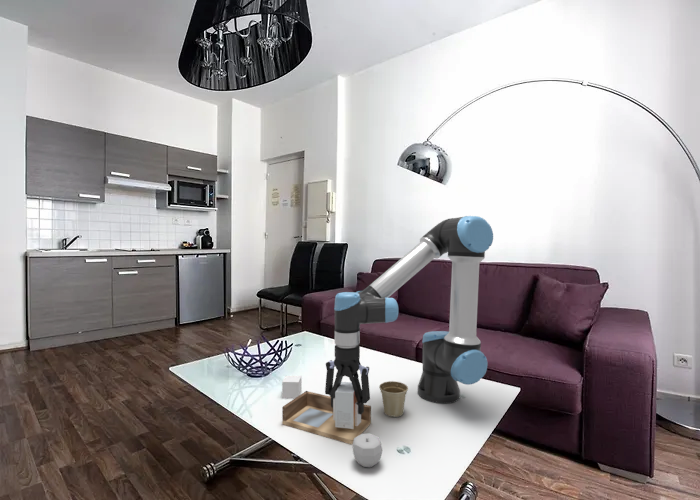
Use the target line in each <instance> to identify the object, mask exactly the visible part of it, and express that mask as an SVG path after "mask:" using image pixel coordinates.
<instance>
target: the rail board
mask: <svg viewBox="0 0 700 500" xmlns="http://www.w3.org/2000/svg"><path fill="white" fill-rule="evenodd" d="M281 414H282V417H281V418H282V419H281V420H282V421H281V422H282V424H281V425H284V426H288V427H291V428H294V429H297V430H300V431H304V432H308V433H311V434H315V435H319V436H321V437H323V438H328V439H331V440H335V441H338V442H341V443H345V444H348V445H352V444H353V441H354V438H355V437H357V436H359V435H360V434H364V432H365V431H366V430H367V428H368V427H369V426H370V425H371V424H372V406H371V405H368V404H366V403H364V412H363V413H362V414H361V423H360V424H359V425H358V426H354V429H348V428H338V427H335V420H333V408H332V407H331V397H330V395H327V394H323V393H322V394H321V393H316V392H313V391H308V390H305V391H304V392H303V393H302V392H301V394H300V395H299V396H298V397H296V398H292V400H290V401H289V402H287V403H285V405H282V413H281ZM352 446H353V445H352Z"/></svg>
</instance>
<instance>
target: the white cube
mask: <svg viewBox="0 0 700 500" xmlns="http://www.w3.org/2000/svg"><path fill="white" fill-rule="evenodd" d="M281 390H282V391H281V395H282V398H281V399H295V398H296V397H298V396H299V395H301V394H302V375H285V376H284V378H283V380H282V382H281Z"/></svg>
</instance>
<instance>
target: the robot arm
mask: <svg viewBox="0 0 700 500" xmlns="http://www.w3.org/2000/svg"><path fill="white" fill-rule="evenodd" d="M493 241H494V233H493V228H492V226H491V224H490V223H489V222H488V221H487V220H486V219H484V218H483V217H480V216H476V215H465V216H460V217H452V218H447V219H444V220H442V221H440V222H438V223H437V224H436V225H435V226H433V227H432V228H431V229H430V230H429V231H427V232H426V233H425V234H424V235H423V236H422V237H420V238H419V242H418V243H417V244H416V245H415V246H414V247H413V248H412V249H410V250H409V251H408V252H407V253H406V254H405V255H403V256H402V257H401V258H400V259H398V261H397V262H395V263H394V264H393V265H391V266H390V267H389V268H388V269H387V270H385V272H383V273H382V274H381V275H380V276H379V277H378V278H376V279H375V280H374V281H372V283H370V284H369V285H368V286H367V287H366V288H364V289H363V290H358V291H356V292H353V291H352V292H349V291H344V292H338V293H336V295H335V298H334V308H333V309H334V344H335V345H334V360H332V359H331V360H329V361H327V362H326V363H325V368H326V375H325V376H326V378H325V387H324V393H325V394H324V395H327V396H330V397H331V407H332V408H333V420H335V391H336V390H337V389H338V387H339V385H340V384H341V382H343V378H344V377H347V378H348V379H349V382H351V383H352V386H353V389H354V391H355V396H356V399H357V402H356V403H355V426H358V425H359V424H360V423H361V414H362V413H363V412H364V404H367V403H368V402H369V401H370V400H371V396H370V395H371V394H370V393H371V392H370V382H369V373H370V367H369V366H364V365H362V364H361V361H360V356H361V355H360V354H361V353H360V352H361V346H360V341H361V339H360V334H361V333H360V330H361V328H360V327H361V325H367V324H383V323H384V324H388V323H392V322H396V321H397V319H398V317H399V304H398V302H397V300H396V299H395V298H393V297H391V296H392V295H393V294H394V293H395V292H396V291H398V290H399V289H400V288H401V287H402V286H403V285H405V284H406V283H407V282H408V281H409V280H411V279H412V278H413V277H414V276H415V275H417V274H418V273H419V272H420V271H421V270H422V269H423V268H425V266H427V265H428V264H429V263H431V262H432V261H433V260H434V259H439V258H440V257H442V256H443V255H445V254H447V258H448V259H449V260H451V284H450V302H449V303H450V304H449V305H450V307H449V322H448V323H449V324H448V325H449V326H448V327H449V328H448V331H444V330H441V331H440V330H439V331H427V332H425V333H424V334H423V335H422V340H421V341H422V373H421V376H420V379H419V380H418V384H417V395H418V396H419V397H420V398H422V399H424V400H426V401H429V402H432V403H436V404H450V402H451V403H455V402H457V401H459V399H460V398H459V397H461V389H460V387H459V383H461V384H463V385H467V386H469V385H474V384H476V383H478V382H479V381H481V379H482V378H483V377H484V376H485V375H486V373H487V370H488V364H489V363H488V359H487V356H485V354H484V352H483V351H481V346H482V343H481V340H480V339H479V337H478V336H477V324H478V323H477V322H478V304H479V281H480V280H479V279H480V277H479V275H480V263H481V262H482V261H483V260H484V259H485V257H486V256H485V255H486V251H488V250H489V249H490V247H491V246H492V244H493ZM335 369H336V370H337V372H336V375H335V376H334V374H335V373H334V372H335ZM358 371H359V373H360V374H359V373H358ZM359 375H360V379H359ZM334 377H335V380H334ZM458 382H459V383H458ZM456 400H457V401H456ZM454 401H455V402H454Z"/></svg>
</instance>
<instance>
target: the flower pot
mask: <svg viewBox="0 0 700 500" xmlns="http://www.w3.org/2000/svg"><path fill="white" fill-rule="evenodd" d="M378 387H379V391H380V393H381V397H382V406H383V413H384V414H385V415H386V416H388V417H394V418H398V417H401V416H403V414H404V411H405V409H404V408H405V402H406V401H405V400H406V395H407V393H408V390H409V386H407V384H405V383H403V382H401V381H394V380H391V381H390V380H389V381H384V382H382V383H380V384H379V386H378Z"/></svg>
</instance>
